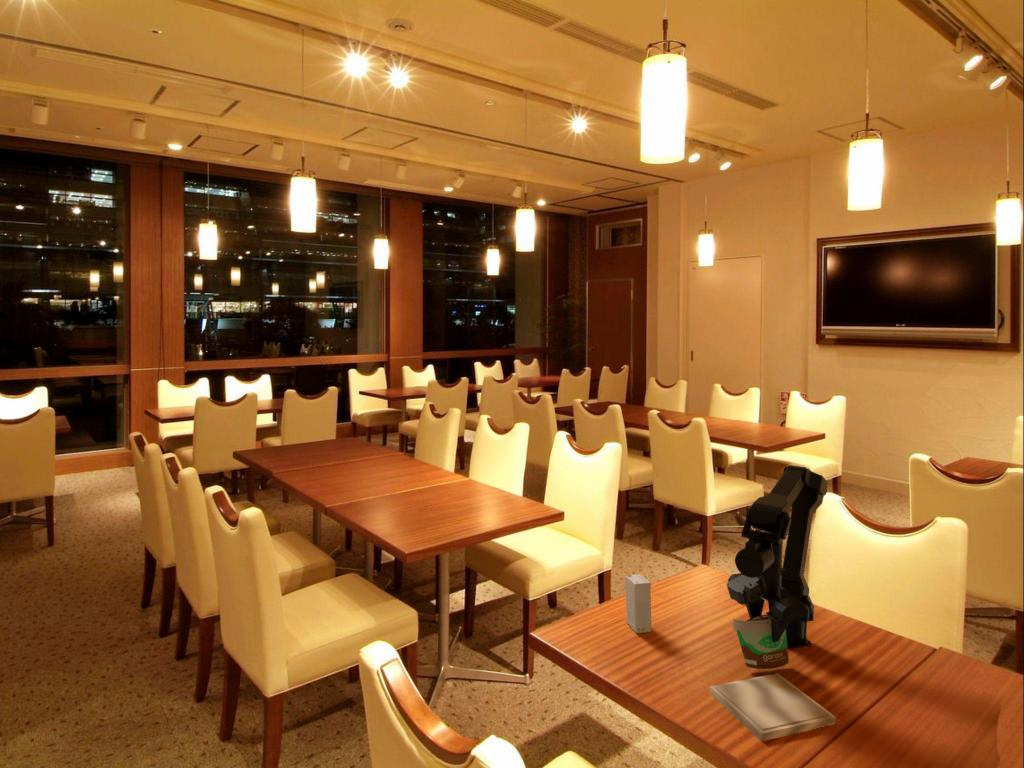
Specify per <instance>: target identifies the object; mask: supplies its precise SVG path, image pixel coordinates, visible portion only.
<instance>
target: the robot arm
mask: <svg viewBox="0 0 1024 768" xmlns="http://www.w3.org/2000/svg"><path fill="white" fill-rule="evenodd" d="M780 476H781V477H780V478H778V480H777V482H776V484H775V485H774V486H773V488H771V490H770V492H769V494H768V495H764V496H760V497H758V498H757V499H755V501H754V502H753V503H752V504H751V505H750V506H749V507H748V510H747V513H746V516H745V519H744V520H745V521H744V524H743V526H742V531H741V537H742V538H745V539H748V540H747V541H746V542H745V543H744V547H743V548H742V549H739V551H738V552H737V553H736V555H735V558H734V562H735V563H734V564H735V566H736V568H737V570H738V571H739V573H733V574H731V575H730V576H729V577H728V579H727V583H726V588H727V591H728V593H729V594H728V595H729V597H730V599H731V600H734V601H735V602H737V603H738V604H739V605H742V606H745V608H746V610H747V613H748V617H749V619H750V618H752V617H755V616H758V615H763V614H762V613H763V610H764V605H765V602H767V605H768V611H766V612H765V613H766V614H765V615H768V616H769V617H770V618H771V626H772V640H773V642H778V641H779V639H780V638H781V636H782V634H783V633H784V631H785V629H786V637H787V647H788V649H792V648H798V647H802V646H803V647H804V646H808V645H812V641H811V640H809V639H808V638H807V625H808V623H809V622H813V621H814V619H815V618H814V617H815V605H814V604H813V600H812V598H811V597H810V588H809V584H808V582H807V580H806V578H805V568H806V563H807V555H808V549H809V542H810V537H811V536H810V535H811V530H812V523H813V516H814V513H815V512H816V511H817V510H818V508H819V507H821V506H822V505H823V501H824V496H826V494H827V492H828V481H827V479H826V478H825V477H824V476H823V475H822V474H819V473H816V472H814V471H812V470H811V469H810V468H807V467H806V466H799V465H792V464H791V465H790V464H789V465H785V466H784V468H783V472H782V475H780ZM790 508H791V514H790V512H789V510H790ZM751 528H752V529H751ZM785 540H786V544H785V550H784V557H783V541H785Z"/></svg>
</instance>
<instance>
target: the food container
mask: <svg viewBox="0 0 1024 768" xmlns="http://www.w3.org/2000/svg"><path fill="white" fill-rule="evenodd" d="M732 628H733V630H735V631H736V634H737V638H738V641H739V644H740V648H741V651H742V655H743V659H744V662H745V663H744V664H745V666H746V667H748V668H751V669H755V670H757V669H758V670H770V669H777V668H781V667H784V666H786V665H787V664H788V663H789V661H790V659H789V648H788V647H787V637H786V629H785V631H784V633H783V634H782V636H781V638H780V639H779V641H778V642H773V640H772V626H771V618H770V617H769V616H768V615H767V614H762V615H758V616H755V617H752V618H750V617H749V618H748V619H745V620H742V619H741V620H739V619H736V618H733V622H732Z"/></svg>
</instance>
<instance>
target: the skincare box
mask: <svg viewBox="0 0 1024 768" xmlns="http://www.w3.org/2000/svg"><path fill="white" fill-rule="evenodd" d="M651 584H652V583H651V582H650V581H649V580H648V579H647V578H645V577H644V576H643V575H642V574H640V573H639V574H630V575H625V605H626V607H625V609H626V610H625V611H626V612H625V613H626V614H625V615H626V624H627V625H628V624H629V625H628V626H629V627H630V628H631V629H632V630H633V632H634V633H635V634H643V633H651V632H652V598H651V597H652V595H651V594H652V590H651V588H652V587H651Z"/></svg>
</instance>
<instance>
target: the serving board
mask: <svg viewBox="0 0 1024 768" xmlns="http://www.w3.org/2000/svg"><path fill="white" fill-rule="evenodd" d="M709 695H711V696H712V697H713V698H714V699H715V700H716V701H718V703H719V704H720V705H722V706H723V708H725V709H726V710H727V711H728V712H729V713H730V714H731V715H732V716H734V718H736V720H737V721H738V722H740V723H741V724H742V725H743V726H744V727H746V729H747V730H749V731H750V732H751V733H752V734H753V735H754V736H755V738H757V739H758V740H759V741H760V742H765V741H770V740H774V739H778V738H783V737H786V736H792V735H797V734H800V733H805V732H809V730H810V731H813V730H812V729H814V730H817V729H816V728H819V727H822V726H826V725H828V724H833V723H837V722H836V720H837V717H836V716H835V715H834V714H832V713H831V712H830V711H829V710H827V709H826V708H825V707H823V706H822V705H821V704H819V703H818V702H817V701H815V700H814V699H813V698H811V697H810V696H808V694H806V693H805V692H804V691H802V690H801V689H799V688H798V687H797V686H795V685H794V684H793V683H792V682H790V681H789V680H788V679H787V678H785V677H783V676H782V675H781V674H780V673H778V672H777V673H772V674H766V675H761V676H756V677H751V678H750V677H749V678H746V679H742V680H736V681H735V680H734V681H730V682H725V683H720V684H715V685H714V684H713V685H710V686H709ZM819 729H820V728H819Z"/></svg>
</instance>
